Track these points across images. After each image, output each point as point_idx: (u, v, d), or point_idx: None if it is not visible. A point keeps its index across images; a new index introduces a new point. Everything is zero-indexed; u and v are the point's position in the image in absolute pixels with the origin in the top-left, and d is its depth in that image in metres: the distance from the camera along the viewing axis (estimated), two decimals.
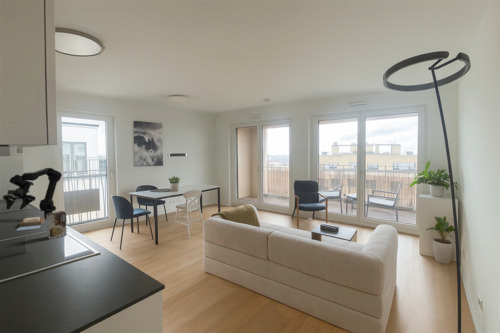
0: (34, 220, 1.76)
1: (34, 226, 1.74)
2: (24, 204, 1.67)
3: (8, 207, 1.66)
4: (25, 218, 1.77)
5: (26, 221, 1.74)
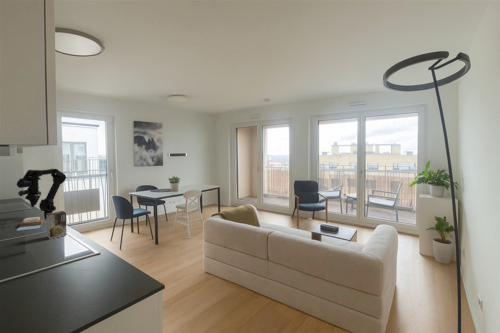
0: (34, 220, 1.76)
1: (34, 226, 1.74)
2: (32, 202, 1.79)
3: (34, 203, 1.86)
4: (25, 218, 1.77)
5: (26, 221, 1.74)
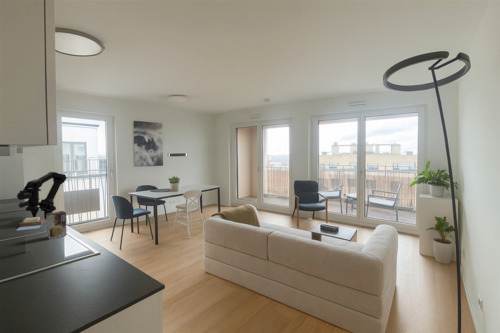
0: (34, 220, 1.76)
1: (34, 226, 1.74)
2: (33, 213, 1.82)
3: None
4: (25, 218, 1.77)
5: (26, 221, 1.74)
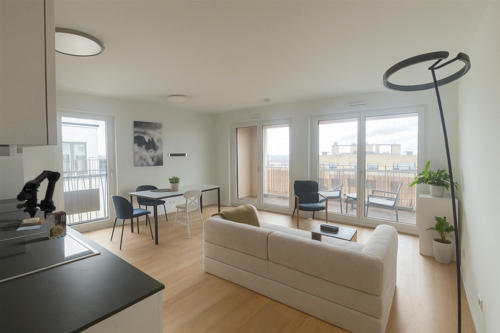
0: (33, 221, 1.74)
1: (34, 226, 1.74)
2: (31, 214, 1.78)
3: None
4: (24, 219, 1.76)
5: (25, 222, 1.72)
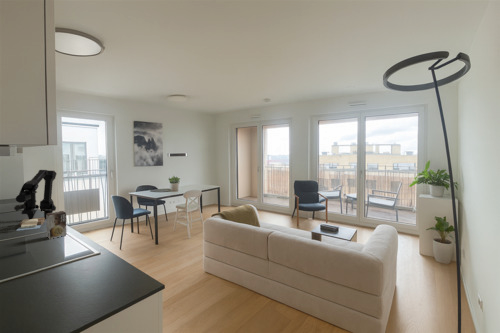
0: (32, 226, 1.71)
1: None
2: (30, 216, 1.74)
3: (30, 218, 1.75)
4: None
5: (24, 227, 1.69)
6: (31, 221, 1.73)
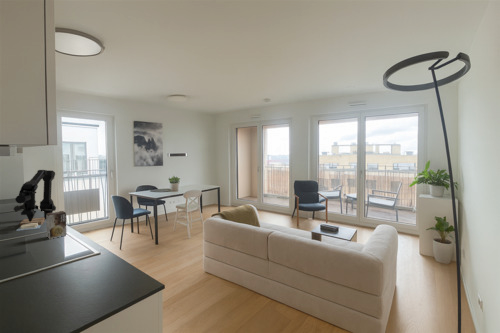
0: (31, 226, 1.70)
1: None
2: (29, 217, 1.72)
3: None
4: (23, 224, 1.71)
5: (23, 227, 1.68)
6: (31, 224, 1.73)
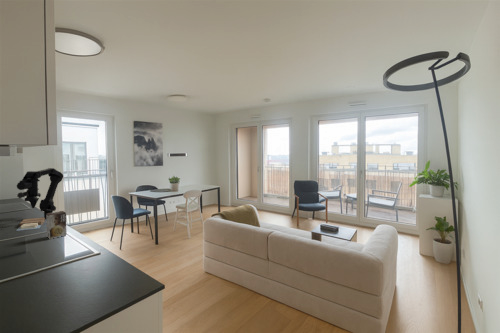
0: (31, 226, 1.70)
1: None
2: (32, 203, 1.80)
3: None
4: (23, 224, 1.71)
5: (23, 227, 1.68)
6: (31, 224, 1.73)
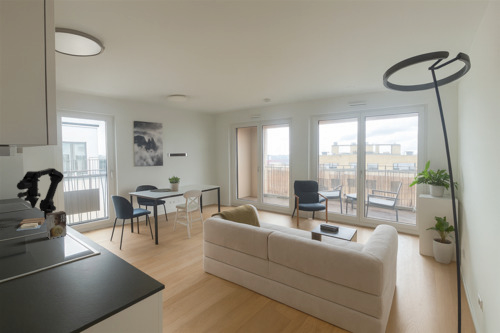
0: (31, 226, 1.70)
1: None
2: (32, 203, 1.80)
3: None
4: (23, 224, 1.71)
5: (23, 227, 1.68)
6: (31, 224, 1.73)
